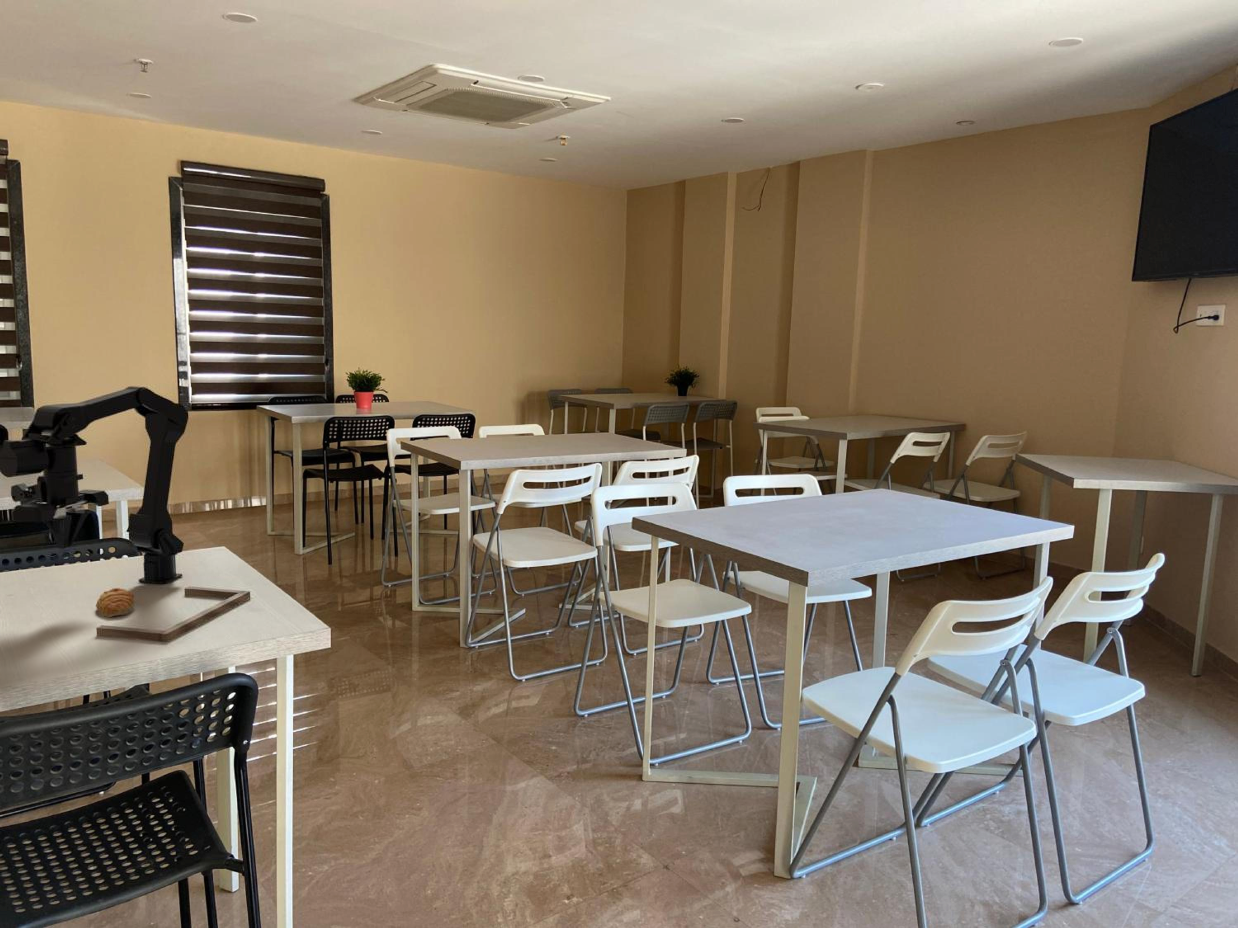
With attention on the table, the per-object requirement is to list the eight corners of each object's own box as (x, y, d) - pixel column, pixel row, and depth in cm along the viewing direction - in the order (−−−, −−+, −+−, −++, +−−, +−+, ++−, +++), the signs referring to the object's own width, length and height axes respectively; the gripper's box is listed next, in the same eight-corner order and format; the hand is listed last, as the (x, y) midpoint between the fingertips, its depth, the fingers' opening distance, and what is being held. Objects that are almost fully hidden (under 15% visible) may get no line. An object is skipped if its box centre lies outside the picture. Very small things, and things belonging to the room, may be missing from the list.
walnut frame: (189, 593, 190) (188, 586, 190) (250, 598, 188) (250, 591, 188) (96, 635, 164) (96, 627, 163) (166, 641, 162) (166, 633, 161)
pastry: (138, 616, 176) (136, 597, 175) (98, 621, 172) (97, 602, 171) (133, 602, 183) (132, 584, 183) (95, 607, 180) (94, 589, 179)
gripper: (60, 461, 185) (64, 534, 188) (-17, 475, 167) (-11, 556, 170) (108, 464, 184) (112, 538, 186) (36, 478, 166) (42, 560, 168)
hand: (65, 547), depth 178 cm, fingers closed
